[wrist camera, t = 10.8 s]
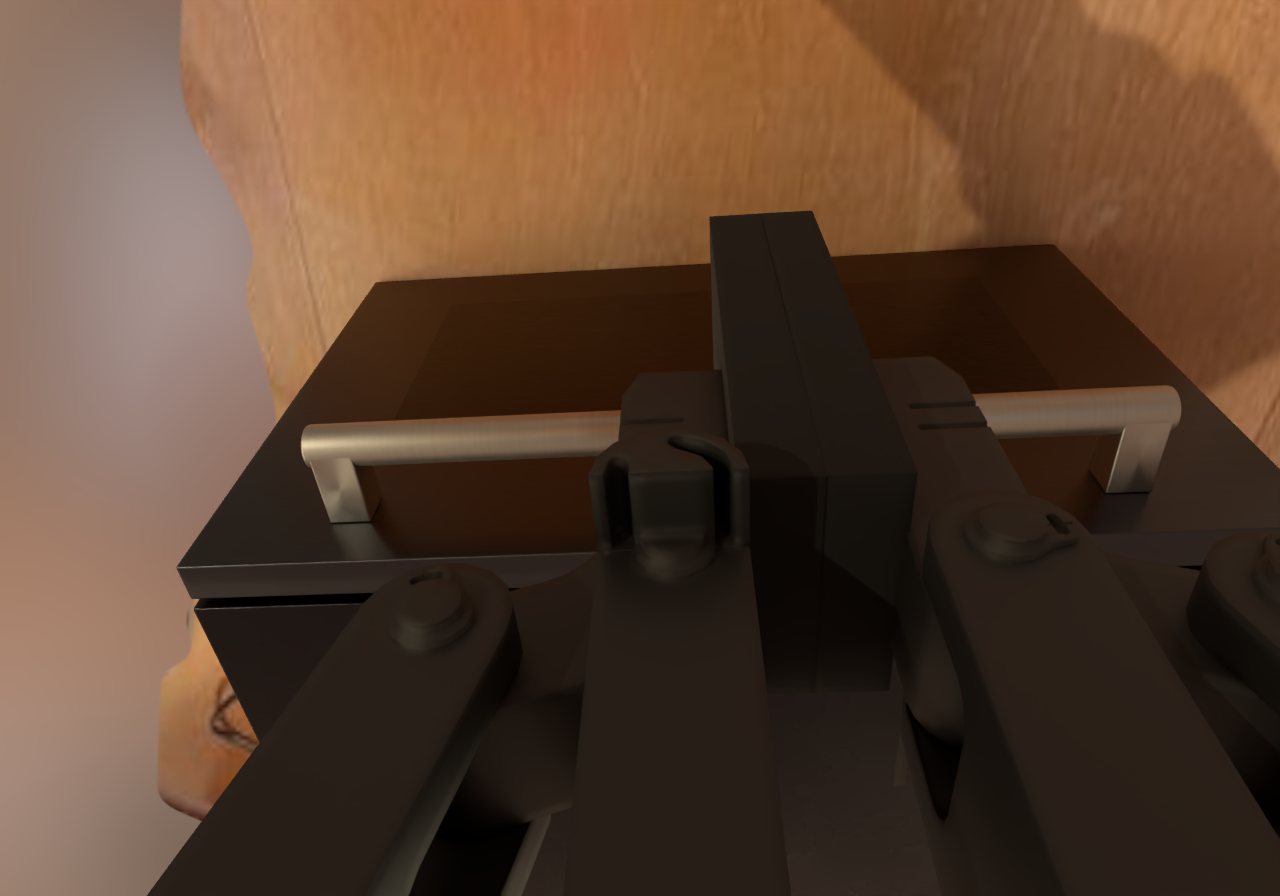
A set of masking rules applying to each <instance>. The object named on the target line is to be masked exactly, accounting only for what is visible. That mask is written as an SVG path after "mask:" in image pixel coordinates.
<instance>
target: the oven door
mask: <svg viewBox="0 0 1280 896" xmlns="http://www.w3.org/2000/svg"><path fill="white" fill-rule="evenodd" d="M831 259H832V261H833V264H834V266H835V269H836V271H837V274H838V276H839V279H840V281H841V284H842V286H843V289H844V291H845V293H846V296H847V298H848V301H849V303H850V306H851V308H852V311H853V313H854V316H855V318H856V321H857V323H858V326H859V328H860V331H861V333H862V336H863V338H864V341H865V343H866V345H867V348H868V350H869V353H870V355H871V358H872V359H881V358H902V357H923V356H933V357H934V358H936V359H937V360H939V361H940V362H942V363H943V364H945V365H946V366H948V367H949V368H950V369H952V370H953V371H955V372H956V373H958V374H959V375H961V376H962V377H963V379H964V381H965V383H966V385H967V386H968V388H969V390H970V392H971V393H972V395H973V397H974V399H975V401H976V406H979V408H980V409H981V411H982V413H983V415H984V416H985V418H986V420H987V426H988V427H991V429H992V431H993V432H994V434H995V436H996V438H997V440H998V441H999V443H1000V445H1001V447H1002V448H1003V450H1004V452H1005V454H1006V455H1007V457H1008V459H1009V461H1010V463H1011V464H1012V466H1013V468H1014V470H1015V471H1016V473H1017V475H1018V477H1019V478H1020V480H1021V482H1022V484H1023V486H1024V487H1025V489H1026V491H1027V493H1028V494H1029V495H1030V496H1034V497H1037V498H1041V499H1044V500H1047V501H1049V502H1051V503H1053V504H1054V505H1056V506H1058V507H1060V508H1061V509H1063V510H1065V511H1067V512H1069V513H1070V514H1072V515H1073V516H1074V517H1075V518H1076V519H1077V520H1078V521H1079V522H1080V523H1081V524H1082V525H1083V526H1084V527H1085V528H1086V529H1087V530H1088V531H1089V533H1090V534H1091V535H1092V537H1093V539H1094V540H1095V542H1096V543H1097V545H1098V547H1099V548H1100V550H1101V551H1104V552H1106V553H1111V554H1115V555H1119V556H1123V557H1127V558H1131V559H1136V560H1142V561H1148V562H1154V563H1159V564H1165V565H1171V566H1177V567H1179V566H1202V565H1203V562H1204V560H1205V558H1206V556H1207V554H1208V553H1209V551H1210V550H1211V548H1212V547H1213V545H1214V544H1215V542H1217V541H1219V540H1221V539H1224V538H1226V537H1228V536H1231V535H1233V534H1236V533H1238V532H1253V531H1276V532H1280V469H1279V468H1278V467H1277V466H1276V465H1275V464H1274V463H1273V462H1272V461H1271V460H1270V459H1269V458H1268V457H1267V456H1266V455H1265V454H1264V453H1263V452H1262V451H1261V450H1260V449H1259V448H1258V447H1257V446H1256V445H1255V444H1254V443H1253V442H1252V441H1251V440H1250V439H1249V438H1248V437H1247V436H1246V435H1245V434H1244V433H1243V432H1242V431H1241V430H1240V429H1239V428H1238V427H1237V426H1236V425H1235V424H1234V423H1233V422H1232V421H1231V420H1230V419H1229V418H1228V417H1227V416H1226V415H1224V414H1223V413H1222V412H1221V411H1220V410H1219V409H1218V408H1217V407H1216V406H1215V405H1214V404H1213V403H1212V402H1211V401H1210V400H1209V399H1208V398H1207V397H1206V396H1205V395H1204V394H1203V393H1202V392H1201V391H1200V390H1199V389H1198V388H1197V387H1196V386H1195V385H1194V384H1193V383H1192V382H1191V381H1190V380H1189V379H1188V378H1187V377H1186V376H1185V375H1184V374H1183V373H1182V372H1181V371H1180V370H1179V369H1178V368H1177V367H1176V366H1175V365H1174V364H1173V363H1172V362H1171V361H1170V360H1169V359H1168V358H1167V357H1166V356H1165V355H1164V354H1163V353H1162V352H1161V351H1160V350H1159V349H1158V348H1157V347H1156V346H1155V345H1154V344H1153V343H1152V342H1151V341H1150V340H1149V339H1148V338H1147V337H1146V336H1145V335H1144V334H1143V333H1142V332H1141V331H1140V330H1139V329H1138V328H1137V327H1136V326H1135V325H1134V324H1133V323H1132V322H1131V321H1130V320H1129V319H1128V318H1127V317H1126V316H1125V315H1124V314H1123V313H1122V312H1121V311H1120V310H1119V309H1118V308H1117V307H1116V306H1115V305H1114V304H1113V303H1112V302H1111V301H1110V300H1109V299H1108V298H1107V297H1106V296H1105V295H1104V294H1103V293H1102V292H1101V291H1100V290H1099V289H1098V288H1097V287H1096V286H1095V285H1094V284H1093V283H1092V282H1091V281H1090V280H1089V279H1088V278H1087V277H1086V276H1085V275H1084V274H1083V273H1082V272H1081V271H1080V270H1079V269H1078V268H1077V267H1076V266H1075V265H1074V264H1073V263H1072V262H1071V261H1070V260H1069V259H1068V258H1067V257H1066V256H1065V255H1064V254H1063V253H1062V252H1061V251H1060V250H1059V249H1058V248H1057V247H1056V246H1055V245H1036V246H1018V247H1000V248H983V249H965V250H947V251H929V252H911V253H893V254H875V255H858V256H840V257H831ZM694 370H714V366H713V328H712V291H711V264H697V265H679V266H661V267H643V268H626V269H608V270H590V271H572V272H554V273H536V274H519V275H501V276H483V277H465V278H447V279H429V280H411V281H394V282H376V283H375V284H374V286H373V287H372V289H371V290H370V291H369V293H368V294H367V296H366V297H365V299H364V300H363V301H362V303H361V304H360V306H359V307H358V309H357V310H356V311H355V313H354V314H353V316H352V317H351V319H350V320H349V321H348V323H347V324H346V326H345V327H344V329H343V330H342V331H341V333H340V334H339V336H338V337H337V339H336V340H335V341H334V343H333V344H332V346H331V347H330V349H329V350H328V351H327V353H326V354H325V356H324V357H323V359H322V360H321V361H320V363H319V364H318V366H317V367H316V369H315V370H314V371H313V373H312V374H311V376H310V377H309V379H308V380H307V381H306V383H305V384H304V386H303V387H302V389H301V390H300V391H299V393H298V394H297V396H296V397H295V399H294V400H293V401H292V403H291V404H290V406H289V407H288V409H287V410H286V411H285V413H284V414H283V416H282V417H281V419H280V420H279V421H278V423H277V424H276V426H275V427H274V429H273V430H272V431H271V433H270V435H269V436H268V437H267V439H266V440H265V441H264V443H263V444H262V446H261V447H260V449H259V450H258V451H257V453H256V454H255V456H254V457H253V459H252V460H251V461H250V463H249V464H248V466H247V467H246V469H245V470H244V471H243V473H242V474H241V476H240V477H239V479H238V480H237V481H236V483H235V485H234V486H233V487H232V489H231V490H230V492H229V493H228V494H227V496H226V497H225V499H224V500H223V501H222V503H221V505H220V506H219V507H218V509H217V510H216V511H215V513H214V514H213V516H212V517H211V519H210V520H209V522H208V523H207V525H206V526H205V527H204V529H203V530H202V531H201V533H200V534H199V536H198V537H197V539H196V540H195V541H194V543H193V544H192V546H191V547H190V549H189V550H188V552H187V553H186V554H185V556H184V557H183V559H182V560H181V561H180V563H179V564H178V566H177V570H178V572H179V574H180V577H181V578H182V581H183V583H184V585H185V587H186V589H187V591H188V593H189V595H190V597H191V598H192V599H208V598H239V597H269V596H299V595H330V594H360V593H375V592H376V591H377V590H378V589H379V588H380V587H381V586H382V585H384V584H386V583H387V582H389V581H391V580H393V579H395V578H397V577H398V576H400V575H402V574H404V573H406V572H408V571H411V570H414V569H418V568H422V567H426V566H430V565H433V564H437V563H468V564H471V565H474V566H477V567H481V568H484V569H487V570H490V571H492V572H493V573H494V574H495V575H496V576H497V577H499V578H500V579H501V580H502V581H503V582H504V583H505V584H507V586H508V589H512V588H524V587H527V586H531V585H535V584H538V583H542V582H545V581H548V580H551V579H553V578H556V577H559V576H562V575H564V574H567V573H568V572H570V571H572V570H573V569H575V568H577V567H579V566H580V565H582V564H584V563H585V562H586V561H587V560H588V559H589V558H590V557H592V556H593V555H594V554H595V553H596V552H597V551H598V549H597V542H596V534H595V526H594V518H593V511H592V503H591V495H590V487H589V480H588V474H589V472H590V470H591V467H592V465H593V463H594V461H595V459H596V457H597V456H598V455H600V454H601V453H602V452H603V451H605V450H606V449H607V448H608V447H609V446H611V445H612V444H613V443H614V442H617V441H618V436H619V425H620V414H621V403H622V395H623V394H624V393H625V391H626V390H627V389H628V388H629V387H630V385H631V384H632V383H633V382H634V381H635V379H636V378H637V377H638V376H639V375H640V374H641V373H653V372H674V371H694Z"/></svg>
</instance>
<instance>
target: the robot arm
mask: <svg viewBox="0 0 1280 896" xmlns="http://www.w3.org/2000/svg"><path fill="white" fill-rule="evenodd" d="M710 254H711V291H712V328H713V366H714V370H694V371H674V372H653V373H641V374H640V375H639V376H638V377H637V378H636V379H635V381H634V382H633V383H632V384H631V385H630V387H629V388H628V389H627V390H626V391H625V393H624V394H623V395H622V403H621V414H620V425H619V436H618V441H617V442H614V443H613V444H612V445H611V446H609V447H608V448H607V449H606V450H605V451H603V452H602V453H601V454H600V455H598V456H597V457H596V459H595V461H594V463H593V465H592V467H591V470H590V472H589V474H588V480H589V487H590V495H591V503H592V511H593V518H594V526H595V534H596V542H597V549H598V551H597V552H596V553H595V554H594V555H593V556H592V557H590V558H589V559H588V560H587V561H586V562H585V563H584V564H582V565H580V566H579V567H577V568H575V569H573V570H572V571H570V572H568V573H567V574H564V575H562V576H559V577H556V578H553V579H551V580H548V581H545V582H542V583H538V584H535V585H531V586H527V587H524V588H520V589H516V590H513V591H509V589H508V586H507V584H505V583H504V582H503V581H502V580H501V579H500V578H499V577H497V576H496V575H495V574H494V573H493V572H492V571H490V570H487V569H484V568H481V567H477V566H474V565H471V564H468V563H437V564H433V565H430V566H426V567H422V568H418V569H414V570H411V571H408V572H406V573H404V574H402V575H400V576H398V577H397V578H395V579H393V580H391V581H389V582H387V583H386V584H384V585H382V586H381V587H380V588H379V589H378V590H377V591H376V592H375V593H374V594H373V595H372V596H371V597H369V598H368V599H367V600H366V601H365V602H364V603H363V604H362V605H361V607H360V608H359V609H358V611H357V612H356V613H355V615H354V616H353V617H352V619H351V620H350V621H349V623H348V624H347V626H346V627H345V628H344V630H343V631H342V632H341V634H340V635H339V636H338V638H337V639H336V640H335V642H334V643H333V644H332V646H331V647H330V649H329V650H328V651H327V653H326V654H325V655H324V657H323V658H322V659H321V661H320V662H319V663H318V665H317V666H316V667H315V669H314V670H313V672H312V673H311V674H310V676H309V677H308V678H307V680H306V681H305V682H304V684H303V685H302V686H301V688H300V689H299V690H298V692H297V693H296V695H295V696H294V697H293V699H292V700H291V701H290V703H289V704H288V705H287V707H286V708H285V709H284V711H283V712H282V713H281V715H280V716H279V718H278V719H277V720H276V722H275V723H274V724H273V726H272V727H271V728H270V730H269V731H268V732H267V734H266V735H265V737H264V738H263V739H262V741H261V742H260V743H259V745H258V746H257V747H256V749H255V750H254V751H253V753H252V754H251V755H250V757H249V758H248V760H247V761H246V762H245V764H244V765H243V766H242V768H241V769H240V770H239V772H238V773H237V774H236V776H235V777H234V778H233V780H232V781H231V783H230V784H229V785H228V787H227V788H226V789H225V791H224V792H223V793H222V795H221V796H220V797H219V799H218V800H217V801H216V803H215V804H214V806H213V807H212V808H211V810H210V811H209V812H208V814H207V815H206V816H205V818H204V819H203V820H202V822H201V823H200V825H199V826H198V827H197V829H196V830H195V831H194V833H193V834H192V835H191V837H190V838H189V839H188V841H187V842H186V843H185V845H184V846H183V847H182V849H181V850H180V852H179V853H178V854H177V856H176V857H175V858H174V860H173V861H172V862H171V864H170V865H169V866H168V868H167V869H166V870H165V872H164V873H163V875H162V876H161V877H160V879H159V880H158V881H157V883H156V884H155V886H154V887H153V888H152V889H151V891H150V892H149V894H148V895H147V896H522V893H523V891H524V888H525V886H526V883H527V880H528V878H529V875H530V873H531V870H532V867H533V865H534V862H535V860H536V857H537V854H538V852H539V849H540V847H541V844H542V841H543V839H544V836H545V834H546V831H547V828H548V826H549V823H550V818H551V814H553V813H556V812H559V811H562V810H565V809H568V808H571V807H572V813H571V822H570V832H569V842H568V852H567V862H566V872H565V882H564V892H563V896H791V888H790V880H789V871H788V863H787V855H786V846H785V838H784V829H783V821H782V813H781V804H780V796H779V788H778V779H777V771H776V763H775V754H774V746H773V738H772V729H771V721H770V713H769V704H768V696H767V694H786V693H827V692H868V691H889V686H890V679H891V671H892V664H893V656H894V658H895V662H896V666H897V669H898V673H899V676H900V680H901V683H902V687H903V691H904V696H903V702H902V709H901V716H900V723H899V730H898V736H897V743H896V750H895V757H894V763H893V786H905V782H906V775H907V769H908V767H909V771H910V775H911V779H912V783H913V787H914V790H915V794H916V798H917V802H918V806H919V810H920V814H921V818H922V821H923V825H924V829H925V833H926V837H927V841H928V845H929V848H930V852H931V856H932V860H933V864H934V868H935V872H936V875H937V879H938V883H939V887H940V891H941V895H942V896H1280V532H1276V531H1253V532H1238V533H1236V534H1233V535H1231V536H1228V537H1226V538H1224V539H1221V540H1219V541H1217V542H1215V544H1214V545H1213V547H1212V548H1211V550H1210V551H1209V553H1208V554H1207V556H1206V558H1205V560H1204V562H1203V565H1202V568H1201V570H1200V571H1199V570H1194V569H1188V568H1182V567H1177V566H1171V565H1165V564H1159V563H1154V562H1148V561H1142V560H1136V559H1131V558H1127V557H1123V556H1119V555H1115V554H1111V553H1106V552H1104V551H1101V550H1100V548H1099V547H1098V545H1097V543H1096V542H1095V540H1094V539H1093V537H1092V535H1091V534H1090V533H1089V531H1088V530H1087V529H1086V528H1085V527H1084V526H1083V525H1082V524H1081V523H1080V522H1079V521H1078V520H1077V519H1076V518H1075V517H1074V516H1073V515H1072V514H1070V513H1069V512H1067V511H1065V510H1063V509H1061V508H1060V507H1058V506H1056V505H1054V504H1053V503H1051V502H1049V501H1047V500H1044V499H1041V498H1037V497H1034V496H1030V495H1029V494H1028V493H1027V491H1026V489H1025V487H1024V486H1023V484H1022V482H1021V480H1020V478H1019V477H1018V475H1017V473H1016V471H1015V470H1014V468H1013V466H1012V464H1011V463H1010V461H1009V459H1008V457H1007V455H1006V454H1005V452H1004V450H1003V448H1002V447H1001V445H1000V443H999V441H998V440H997V438H996V436H995V434H994V432H993V431H992V429H991V427H988V426H987V420H986V418H985V416H984V415H983V413H982V411H981V409H980V408H979V406H976V401H975V399H974V397H973V395H972V393H971V392H970V390H969V388H968V386H967V385H966V383H965V381H964V379H963V377H962V376H961V375H959V374H958V373H956V372H955V371H953V370H952V369H950V368H949V367H948V366H946V365H945V364H943V363H942V362H940V361H939V360H937V359H936V358H934V357H933V356H923V357H902V358H881V359H872V358H871V355H870V353H869V350H868V348H867V345H866V343H865V341H864V338H863V336H862V333H861V331H860V328H859V326H858V323H857V321H856V318H855V316H854V313H853V311H852V308H851V306H850V303H849V301H848V298H847V296H846V293H845V291H844V289H843V286H842V284H841V281H840V279H839V276H838V274H837V271H836V269H835V266H834V264H833V261H832V259H831V256H830V254H829V251H828V249H827V246H826V244H825V241H824V239H823V237H822V234H821V232H820V229H819V227H818V224H817V222H816V219H815V217H814V214H813V212H812V211H798V212H781V213H764V214H747V215H730V216H713V217H710Z"/></svg>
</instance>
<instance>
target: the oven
mask: <svg viewBox="0 0 1280 896" xmlns="http://www.w3.org/2000/svg"><path fill="white" fill-rule="evenodd" d="M1179 567H1182V568H1188V569H1194V570H1199V571H1200V570H1201V568H1202V566H1179ZM516 589H520V588H512V589H509V591H513V590H516ZM373 594H374V593H360V594H330V595H299V596H269V597H239V598H208V599H200V600H199V601H198V603H197V604H196V606H195V607H194V612H195V614H196V616H197V618H198V620H199V622H200V624H201V626H202V628H203V630H204V632H205V634H206V636H207V638H208V640H209V642H210V644H211V646H212V648H213V650H214V652H215V654H216V656H217V658H218V660H219V662H220V664H221V666H222V668H223V670H224V672H225V674H226V676H227V678H228V680H229V682H230V684H231V686H232V688H233V690H234V692H235V694H236V696H237V698H238V700H239V702H240V705H241V707H242V709H243V711H244V713H245V715H246V717H247V719H248V721H249V723H250V725H251V727H252V729H253V731H254V733H255V735H256V737H257V739H258V741H259V743H260V742H261V741H262V739H263V738H264V737H265V735H266V734H267V732H268V731H269V730H270V728H271V727H272V726H273V724H274V723H275V722H276V720H277V719H278V718H279V716H280V715H281V713H282V712H283V711H284V709H285V708H286V707H287V705H288V704H289V703H290V701H291V700H292V699H293V697H294V696H295V695H296V693H297V692H298V690H299V689H300V688H301V686H302V685H303V684H304V682H305V681H306V680H307V678H308V677H309V676H310V674H311V673H312V672H313V670H314V669H315V667H316V666H317V665H318V663H319V662H320V661H321V659H322V658H323V657H324V655H325V654H326V653H327V651H328V650H329V649H330V647H331V646H332V644H333V643H334V642H335V640H336V639H337V638H338V636H339V635H340V634H341V632H342V631H343V630H344V628H345V627H346V626H347V624H348V623H349V621H350V620H351V619H352V617H353V616H354V615H355V613H356V612H357V611H358V609H359V608H360V607H361V605H362V604H363V603H364V602H365V601H366V600H367V599H368V598H369V597H371V596H372V595H373ZM767 696H768V704H769V713H770V721H771V729H772V738H773V746H774V754H775V763H776V771H777V779H778V788H779V796H780V804H781V813H782V821H783V829H784V838H785V846H786V855H787V863H788V871H789V880H790V888H791V896H942V895H941V891H940V887H939V883H938V879H937V875H936V872H935V868H934V864H933V860H932V856H931V852H930V848H929V845H928V841H927V837H926V833H925V829H924V825H923V821H922V818H921V814H920V810H919V806H918V802H917V798H916V794H915V790H914V787H913V783H912V779H911V775H910V771H909V767H908V769H907V775H906V782H905V786H893V763H894V757H895V750H896V743H897V736H898V730H899V723H900V716H901V709H902V702H903V696H904V691H903V687H902V683H901V680H900V676H899V673H898V669H897V666H896V662H895V658H894V656H893V664H892V671H891V679H890V686H889V691H868V692H827V693H786V694H767ZM571 813H572V807H571V808H568V809H565V810H562V811H559V812H556V813H553V814H551V818H550V823H549V826H548V828H547V831H546V834H545V836H544V839H543V841H542V844H541V847H540V849H539V852H538V854H537V857H536V860H535V862H534V865H533V867H532V870H531V873H530V875H529V878H528V880H527V883H526V886H525V888H524V891H523V893H522V896H563V892H564V882H565V872H566V862H567V852H568V842H569V832H570V822H571Z"/></svg>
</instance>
